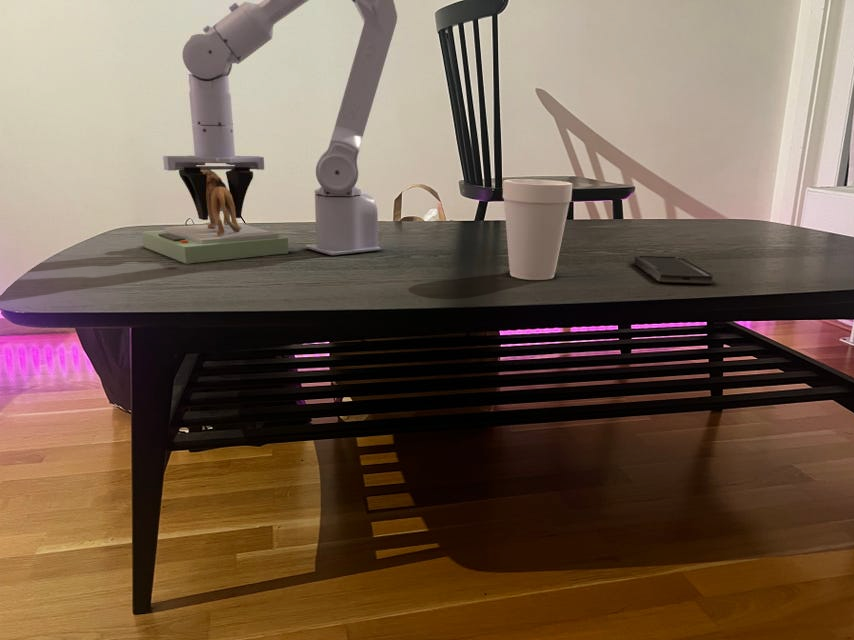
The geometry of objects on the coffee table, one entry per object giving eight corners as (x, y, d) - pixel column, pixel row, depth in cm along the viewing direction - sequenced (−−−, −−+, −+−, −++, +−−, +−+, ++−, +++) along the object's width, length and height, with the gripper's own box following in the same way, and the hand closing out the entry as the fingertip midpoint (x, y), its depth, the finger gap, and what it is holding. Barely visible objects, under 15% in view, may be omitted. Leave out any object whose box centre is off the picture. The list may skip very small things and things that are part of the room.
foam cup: (557, 285, 95) (564, 186, 90) (491, 278, 97) (496, 182, 93) (569, 272, 103) (576, 181, 99) (509, 266, 106) (513, 178, 101)
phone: (681, 257, 112) (715, 276, 98) (680, 264, 113) (714, 284, 99) (632, 255, 112) (660, 274, 98) (632, 262, 112) (659, 282, 98)
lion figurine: (192, 226, 113) (181, 168, 109) (224, 221, 116) (215, 165, 112) (222, 238, 102) (211, 174, 98) (257, 232, 105) (248, 171, 101)
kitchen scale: (240, 239, 120) (239, 221, 119) (288, 253, 109) (287, 233, 108) (143, 247, 109) (141, 227, 108) (186, 263, 98) (184, 242, 97)
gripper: (171, 124, 96) (180, 224, 101) (270, 127, 105) (275, 218, 110) (154, 123, 101) (164, 218, 106) (251, 126, 110) (256, 213, 115)
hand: (220, 218), depth 108 cm, fingers closed on lion figurine, 4 cm apart
